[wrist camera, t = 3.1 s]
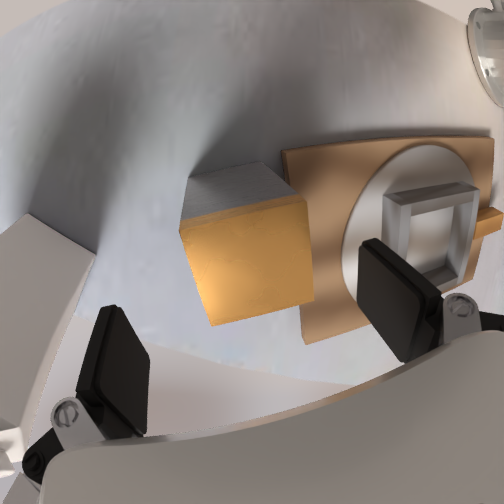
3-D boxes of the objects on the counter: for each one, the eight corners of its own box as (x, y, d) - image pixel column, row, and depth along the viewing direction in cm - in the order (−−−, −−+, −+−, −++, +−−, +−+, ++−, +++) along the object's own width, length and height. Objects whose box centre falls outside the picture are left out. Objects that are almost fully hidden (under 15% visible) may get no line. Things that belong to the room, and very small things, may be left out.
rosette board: (280, 150, 18) (301, 161, 15) (489, 136, 20) (518, 145, 16) (302, 336, 27) (315, 367, 24) (470, 272, 29) (490, 289, 25)
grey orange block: (188, 177, 18) (179, 230, 10) (260, 161, 18) (306, 201, 11) (205, 242, 21) (211, 326, 13) (271, 226, 21) (314, 300, 13)
